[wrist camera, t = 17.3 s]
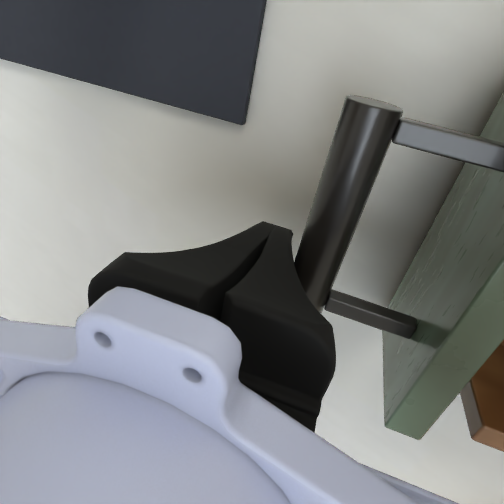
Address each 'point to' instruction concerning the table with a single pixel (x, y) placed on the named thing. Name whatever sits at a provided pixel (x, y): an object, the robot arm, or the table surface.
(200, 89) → the mat
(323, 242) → the drawer
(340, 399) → the table surface
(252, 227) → the robot arm
